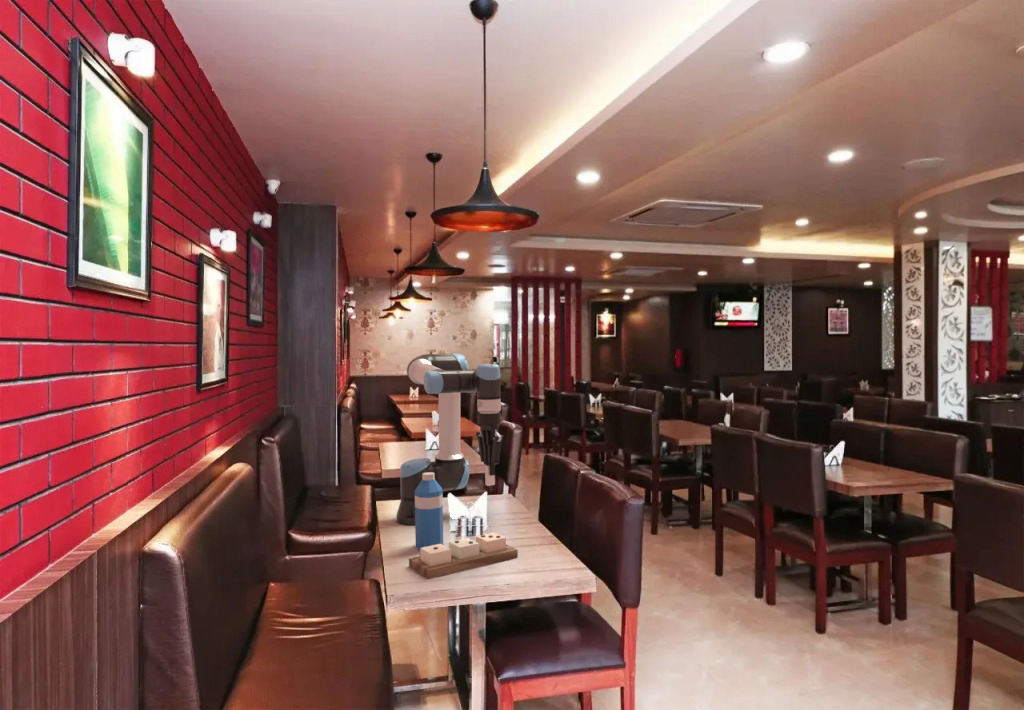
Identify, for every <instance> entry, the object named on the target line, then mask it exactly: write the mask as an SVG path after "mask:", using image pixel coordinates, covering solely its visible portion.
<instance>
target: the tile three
mask: <svg viewBox="0 0 1024 710" xmlns="http://www.w3.org/2000/svg"><path fill="white" fill-rule="evenodd" d="M506 540H507V539H506V537H505V536H503V535H501V534H498V533H496V532H490V533H485V534H481V535H476V536H475V542H477V543H479V550H481V551H483V552H485V553H492V552H496V551H500V550H505V549H506V545H507V541H506Z"/></svg>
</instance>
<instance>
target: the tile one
mask: <svg viewBox="0 0 1024 710" xmlns="http://www.w3.org/2000/svg"><path fill="white" fill-rule="evenodd" d="M419 551H420V553H419V554H420V555H419V556H420V559H421V561H422V562H423V563H425V564H427V565H428V566H430V567H431V566H435V565H440V564H444V563H448V562H451V549H449V546H448V547H447V546H445V545H444V544H443V545H442V544H437V545H432V546H427V547H422V548H420V550H419Z"/></svg>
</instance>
